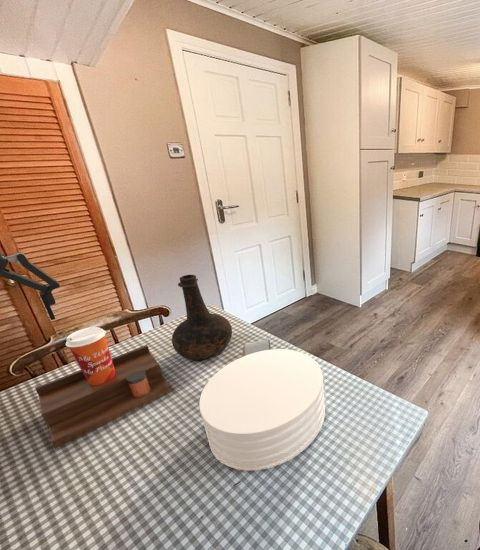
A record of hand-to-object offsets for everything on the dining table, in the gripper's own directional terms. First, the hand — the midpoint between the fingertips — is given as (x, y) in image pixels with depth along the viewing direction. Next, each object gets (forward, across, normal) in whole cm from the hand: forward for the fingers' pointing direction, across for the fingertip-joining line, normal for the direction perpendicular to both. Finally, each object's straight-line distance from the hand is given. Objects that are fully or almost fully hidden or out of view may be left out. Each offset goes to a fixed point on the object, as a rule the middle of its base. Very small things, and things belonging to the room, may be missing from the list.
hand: (10, 329), depth 68 cm
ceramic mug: (+27, +46, -20) cm, 57 cm away
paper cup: (+20, +11, -2) cm, 23 cm away
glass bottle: (+27, +38, 0) cm, 46 cm away
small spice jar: (+24, +17, -10) cm, 31 cm away
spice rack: (+27, +11, -5) cm, 29 cm away
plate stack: (+27, +36, -42) cm, 61 cm away
